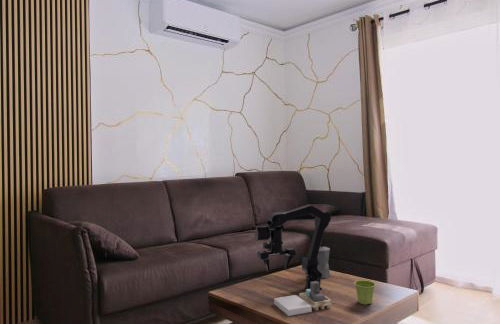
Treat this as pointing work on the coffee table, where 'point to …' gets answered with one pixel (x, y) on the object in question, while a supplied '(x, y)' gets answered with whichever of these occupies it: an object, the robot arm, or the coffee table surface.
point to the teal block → (308, 293)
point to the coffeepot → (323, 261)
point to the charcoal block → (318, 297)
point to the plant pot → (364, 291)
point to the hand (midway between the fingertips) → (277, 270)
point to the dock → (292, 305)
